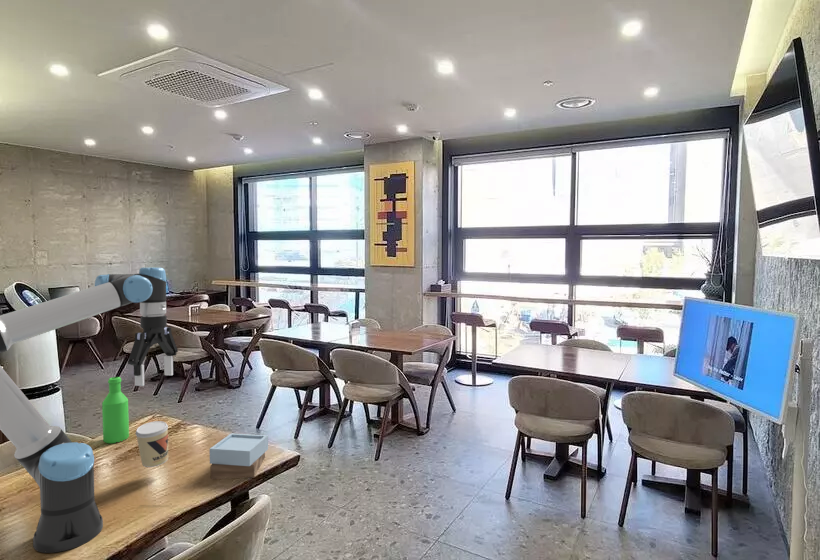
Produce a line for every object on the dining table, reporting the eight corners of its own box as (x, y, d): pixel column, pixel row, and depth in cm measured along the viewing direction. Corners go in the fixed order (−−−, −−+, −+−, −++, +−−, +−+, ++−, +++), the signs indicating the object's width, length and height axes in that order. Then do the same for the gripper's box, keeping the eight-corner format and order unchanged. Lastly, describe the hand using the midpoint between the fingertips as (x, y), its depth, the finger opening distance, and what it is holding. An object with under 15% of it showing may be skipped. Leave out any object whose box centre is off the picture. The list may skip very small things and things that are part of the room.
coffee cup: (153, 471, 152) (149, 436, 150) (132, 465, 155) (128, 431, 153) (177, 456, 160) (174, 423, 158) (157, 451, 164) (153, 418, 162)
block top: (249, 466, 155) (249, 451, 155) (209, 463, 157) (209, 448, 157) (268, 449, 169) (268, 435, 169) (231, 446, 171) (230, 433, 171)
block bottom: (254, 479, 157) (254, 464, 156) (210, 480, 156) (210, 465, 156) (265, 461, 171) (264, 447, 170) (225, 462, 170) (225, 448, 170)
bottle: (127, 434, 195) (125, 374, 194) (131, 440, 188) (129, 378, 187) (101, 439, 189) (99, 377, 188) (104, 446, 183) (103, 382, 181)
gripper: (135, 320, 141) (137, 391, 142) (188, 311, 165) (189, 371, 166) (113, 319, 142) (114, 389, 143) (168, 310, 167) (169, 370, 167)
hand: (154, 380), depth 155 cm, fingers open, 13 cm apart
